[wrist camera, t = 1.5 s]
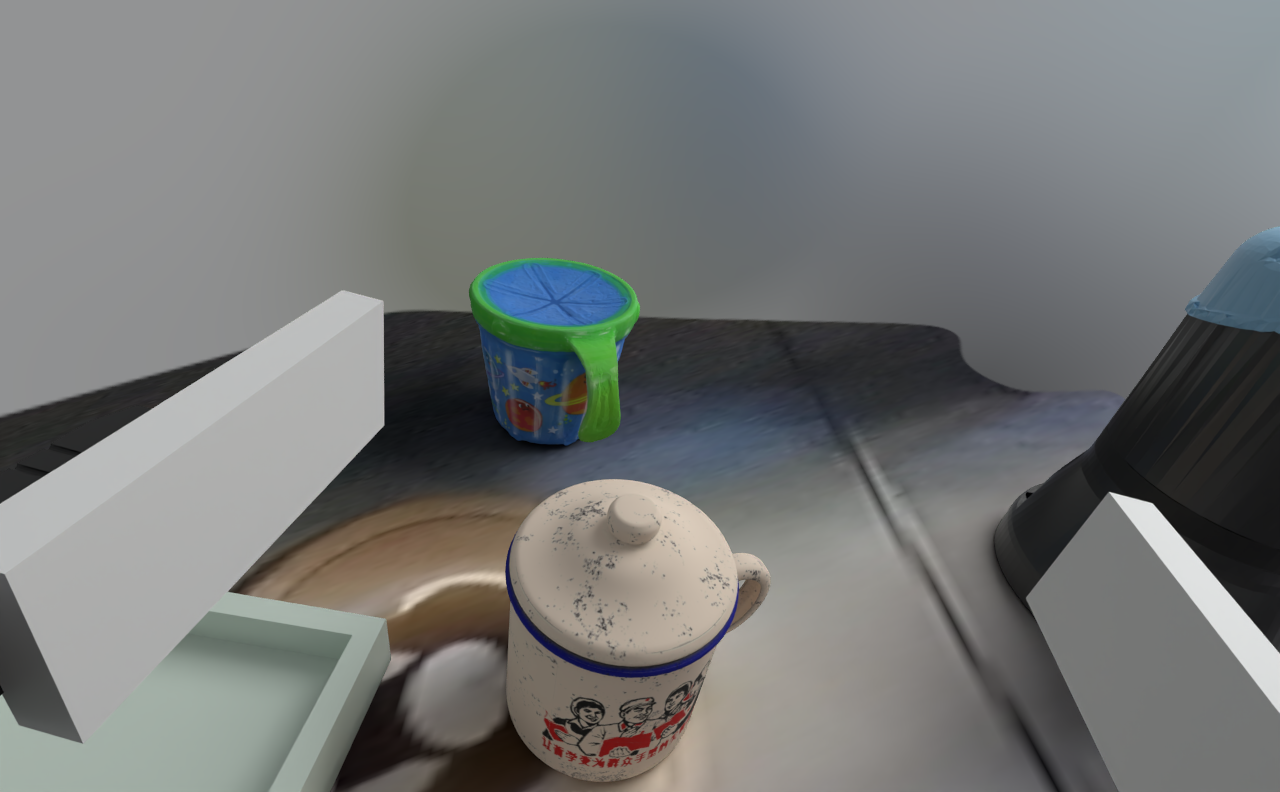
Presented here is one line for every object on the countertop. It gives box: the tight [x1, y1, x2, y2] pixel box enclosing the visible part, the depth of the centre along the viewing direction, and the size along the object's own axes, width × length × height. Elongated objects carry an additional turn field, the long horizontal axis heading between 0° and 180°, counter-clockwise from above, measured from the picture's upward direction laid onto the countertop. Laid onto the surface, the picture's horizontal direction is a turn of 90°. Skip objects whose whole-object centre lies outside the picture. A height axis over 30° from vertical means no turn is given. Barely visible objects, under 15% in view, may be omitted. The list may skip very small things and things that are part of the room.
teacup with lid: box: [505, 479, 771, 782], centre depth 27 cm, size 12×9×12 cm
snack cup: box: [469, 258, 640, 445], centre depth 43 cm, size 16×10×10 cm
